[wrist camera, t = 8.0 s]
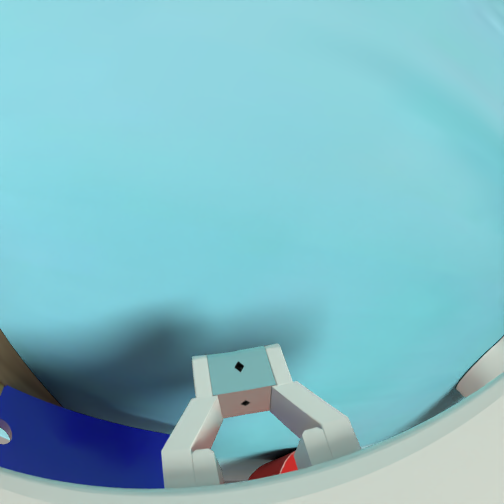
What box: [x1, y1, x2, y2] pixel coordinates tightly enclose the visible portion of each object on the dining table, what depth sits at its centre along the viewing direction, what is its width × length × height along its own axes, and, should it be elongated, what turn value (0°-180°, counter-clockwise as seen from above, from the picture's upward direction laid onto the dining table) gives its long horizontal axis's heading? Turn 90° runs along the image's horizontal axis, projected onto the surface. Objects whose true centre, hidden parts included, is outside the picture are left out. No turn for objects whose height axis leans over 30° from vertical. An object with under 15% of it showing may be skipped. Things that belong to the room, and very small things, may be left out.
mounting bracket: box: [0, 385, 170, 489], centre depth 14 cm, size 18×7×6 cm
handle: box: [0, 329, 63, 408], centre depth 14 cm, size 4×24×4 cm, turn 0°
